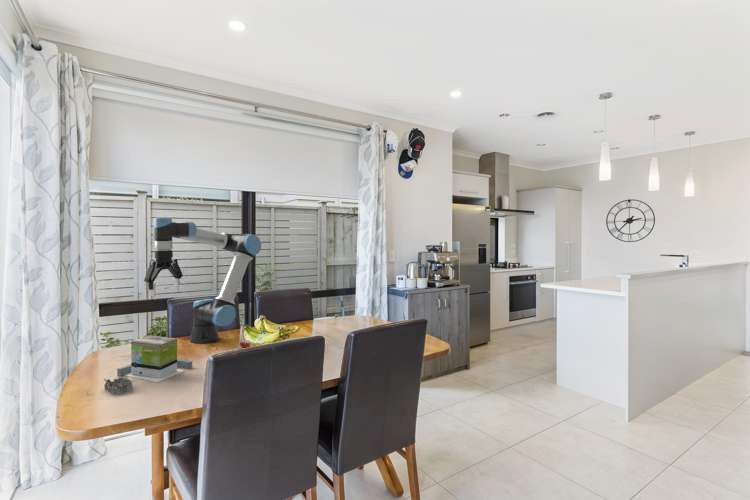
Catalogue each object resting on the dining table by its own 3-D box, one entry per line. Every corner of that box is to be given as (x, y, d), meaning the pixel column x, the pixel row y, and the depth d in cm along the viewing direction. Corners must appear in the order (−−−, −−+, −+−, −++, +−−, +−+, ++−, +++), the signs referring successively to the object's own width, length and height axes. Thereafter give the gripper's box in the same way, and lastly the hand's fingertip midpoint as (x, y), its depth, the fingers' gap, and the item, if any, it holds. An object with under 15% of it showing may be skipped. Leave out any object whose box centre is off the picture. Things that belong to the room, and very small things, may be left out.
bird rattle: (236, 371, 174) (254, 363, 175) (226, 349, 173) (245, 341, 174) (240, 366, 180) (257, 359, 181) (230, 345, 180) (248, 337, 180)
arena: (157, 361, 179) (157, 355, 178) (193, 367, 171) (193, 361, 171) (117, 375, 160) (117, 368, 160) (155, 383, 153) (155, 376, 153)
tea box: (130, 375, 160) (130, 340, 160) (149, 367, 170) (149, 334, 169) (160, 378, 157) (160, 343, 156) (178, 370, 167) (178, 337, 166)
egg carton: (102, 388, 147) (102, 378, 147) (124, 383, 153) (124, 373, 153) (111, 396, 141) (111, 385, 141) (134, 390, 147) (134, 380, 146)
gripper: (178, 248, 193) (179, 289, 195) (133, 251, 170) (135, 298, 171) (190, 248, 191) (190, 290, 193) (146, 251, 167) (148, 299, 169)
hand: (164, 294), depth 182 cm, fingers open, 13 cm apart
